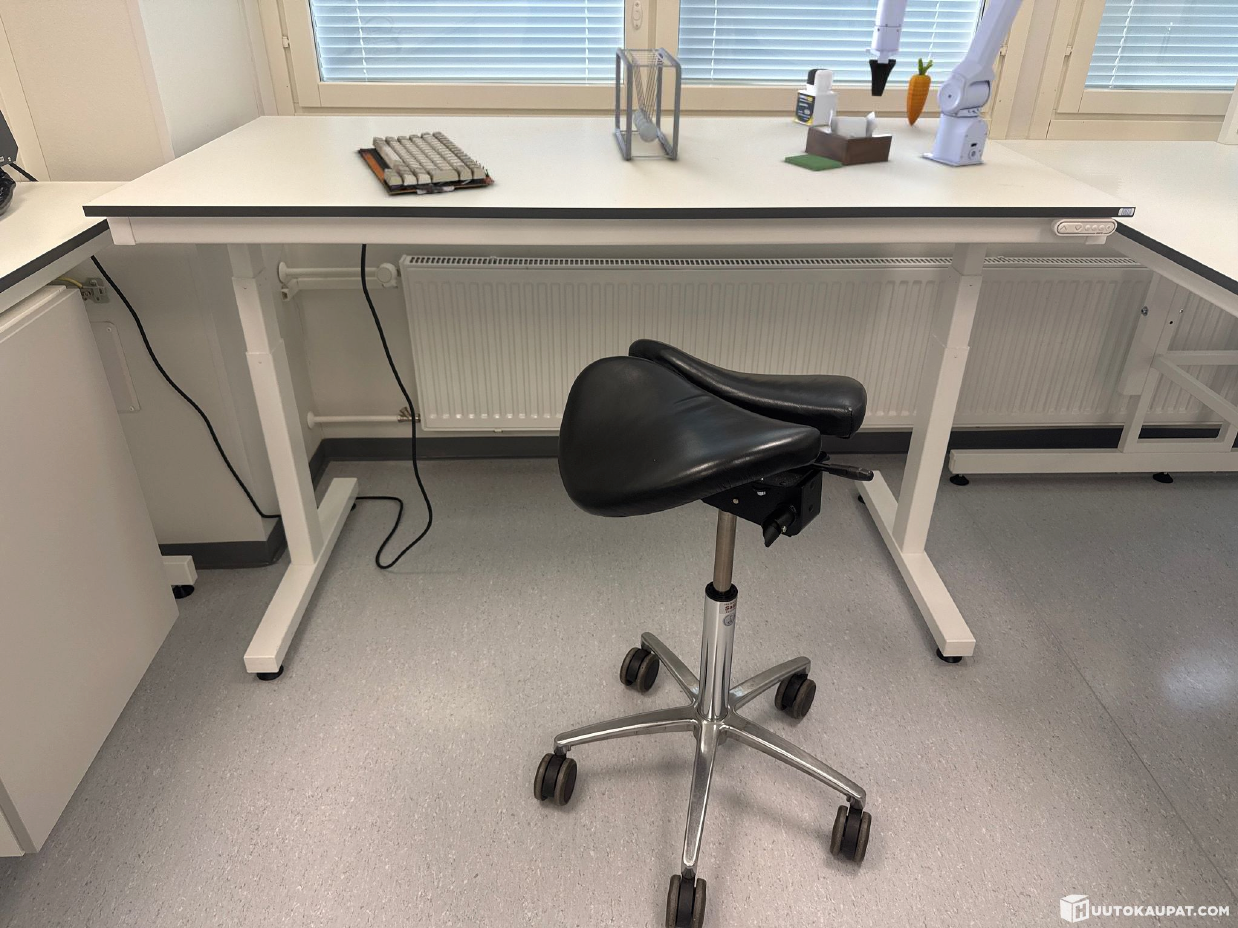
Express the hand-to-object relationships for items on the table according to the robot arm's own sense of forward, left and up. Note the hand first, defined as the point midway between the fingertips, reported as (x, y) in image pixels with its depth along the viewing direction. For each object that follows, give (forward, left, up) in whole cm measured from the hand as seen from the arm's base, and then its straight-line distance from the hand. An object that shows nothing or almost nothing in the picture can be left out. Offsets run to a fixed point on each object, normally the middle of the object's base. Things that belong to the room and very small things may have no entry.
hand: (876, 96), depth 179 cm
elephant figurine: (-10, +14, -10) cm, 20 cm away
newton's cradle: (+13, +50, -10) cm, 53 cm away
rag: (-14, +26, -9) cm, 31 cm away
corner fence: (-10, +14, -9) cm, 20 cm away
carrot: (+11, -22, -10) cm, 26 cm away
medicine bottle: (+22, -1, -10) cm, 24 cm away
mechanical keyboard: (+10, +99, -10) cm, 100 cm away
